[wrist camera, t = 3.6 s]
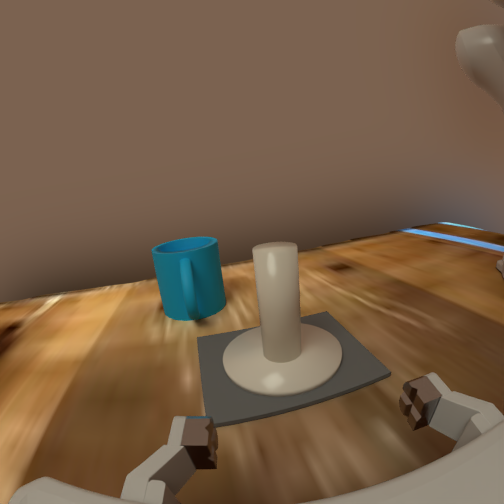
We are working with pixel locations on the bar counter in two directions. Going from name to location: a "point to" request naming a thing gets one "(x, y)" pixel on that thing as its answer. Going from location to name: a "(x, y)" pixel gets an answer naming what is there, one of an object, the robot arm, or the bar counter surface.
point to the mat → (256, 406)
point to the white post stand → (280, 334)
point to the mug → (190, 278)
